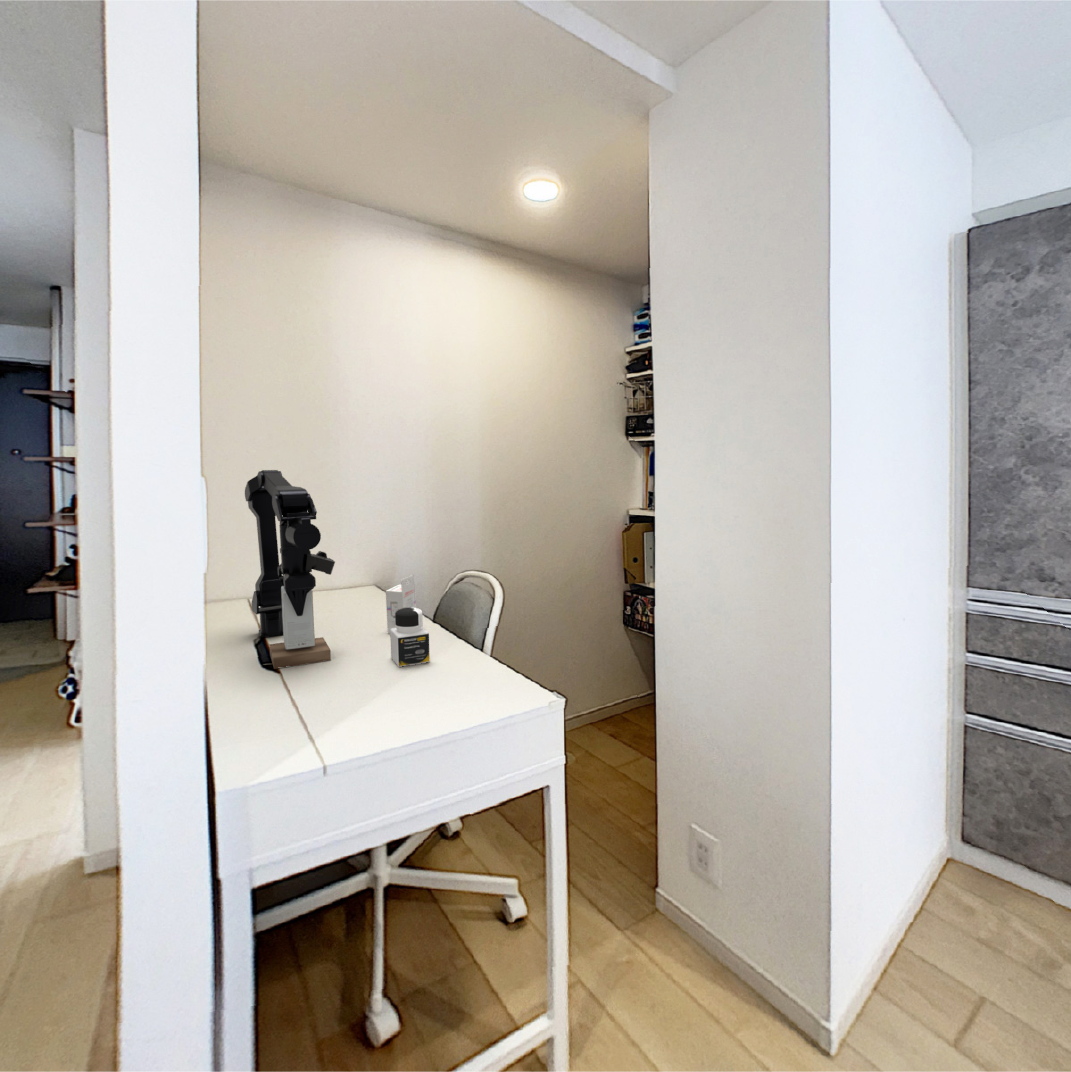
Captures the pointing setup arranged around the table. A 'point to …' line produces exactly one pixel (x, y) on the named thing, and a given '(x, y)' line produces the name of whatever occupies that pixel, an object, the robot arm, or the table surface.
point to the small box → (298, 623)
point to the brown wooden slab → (299, 654)
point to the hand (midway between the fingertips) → (297, 611)
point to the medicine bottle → (409, 638)
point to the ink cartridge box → (400, 599)
